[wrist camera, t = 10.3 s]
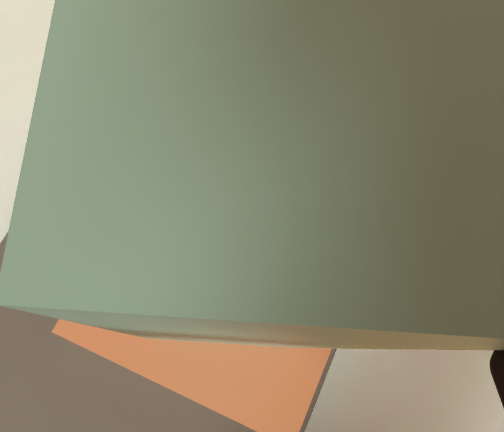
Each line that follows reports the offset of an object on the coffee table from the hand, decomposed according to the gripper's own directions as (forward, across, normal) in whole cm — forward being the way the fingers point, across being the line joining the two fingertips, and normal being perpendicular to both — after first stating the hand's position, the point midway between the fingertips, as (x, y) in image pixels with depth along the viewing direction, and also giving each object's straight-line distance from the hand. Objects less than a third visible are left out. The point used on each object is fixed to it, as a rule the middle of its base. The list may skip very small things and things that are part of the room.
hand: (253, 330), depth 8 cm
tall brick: (+7, 0, +4) cm, 7 cm away
